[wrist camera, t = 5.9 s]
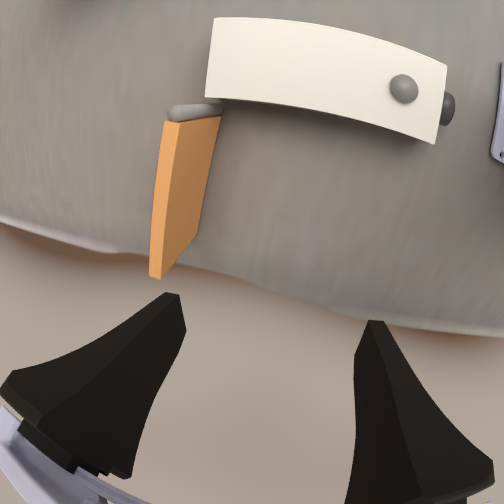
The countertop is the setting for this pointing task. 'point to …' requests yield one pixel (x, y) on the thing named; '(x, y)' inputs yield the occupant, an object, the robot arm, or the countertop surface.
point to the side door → (181, 181)
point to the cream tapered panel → (328, 74)
